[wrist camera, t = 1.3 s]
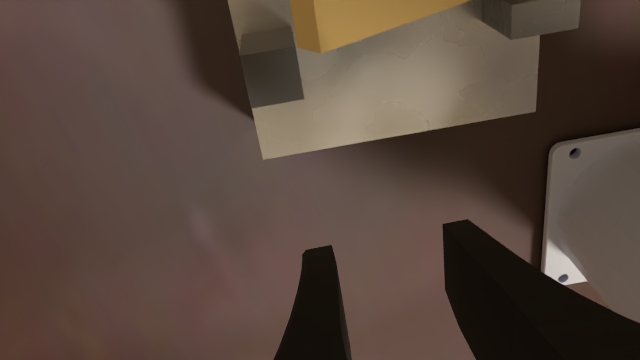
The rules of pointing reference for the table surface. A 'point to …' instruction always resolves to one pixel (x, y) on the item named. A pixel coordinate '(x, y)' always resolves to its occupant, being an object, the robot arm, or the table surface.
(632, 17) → the table surface
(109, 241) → the table surface
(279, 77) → the lug
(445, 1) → the golden yellow flat bar
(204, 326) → the table surface
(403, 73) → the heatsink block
